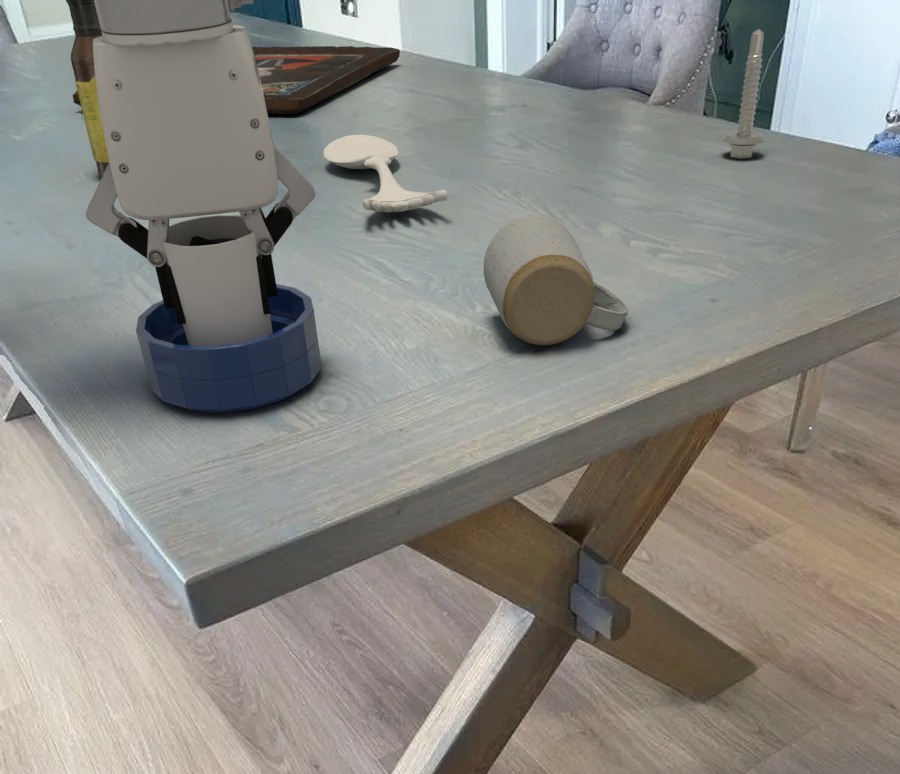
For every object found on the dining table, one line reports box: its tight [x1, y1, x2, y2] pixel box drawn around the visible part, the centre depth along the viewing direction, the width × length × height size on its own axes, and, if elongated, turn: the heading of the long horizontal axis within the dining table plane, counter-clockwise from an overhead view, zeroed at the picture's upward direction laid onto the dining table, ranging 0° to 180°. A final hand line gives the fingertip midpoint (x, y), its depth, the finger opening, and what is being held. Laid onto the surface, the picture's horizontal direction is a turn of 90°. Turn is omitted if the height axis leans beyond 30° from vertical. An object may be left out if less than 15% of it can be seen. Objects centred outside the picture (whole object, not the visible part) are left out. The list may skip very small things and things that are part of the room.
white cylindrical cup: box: [163, 214, 273, 346], centre depth 65 cm, size 7×7×10 cm
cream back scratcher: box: [323, 134, 449, 213], centre depth 106 cm, size 9×32×4 cm, turn 15°
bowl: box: [135, 283, 323, 413], centre depth 67 cm, size 12×12×5 cm
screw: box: [721, 28, 766, 160], centre depth 107 cm, size 13×5×5 cm
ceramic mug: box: [483, 214, 629, 346], centre depth 71 cm, size 11×8×8 cm
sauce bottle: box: [65, 0, 109, 178], centre depth 111 cm, size 6×6×20 cm
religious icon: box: [72, 45, 401, 115], centre depth 159 cm, size 40×45×3 cm
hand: (224, 309), depth 65 cm, fingers closed on white cylindrical cup, 5 cm apart
